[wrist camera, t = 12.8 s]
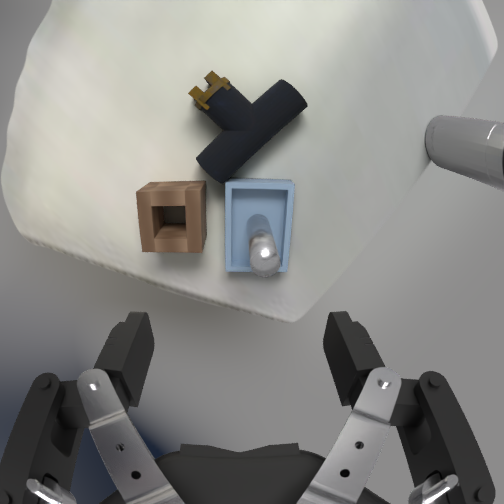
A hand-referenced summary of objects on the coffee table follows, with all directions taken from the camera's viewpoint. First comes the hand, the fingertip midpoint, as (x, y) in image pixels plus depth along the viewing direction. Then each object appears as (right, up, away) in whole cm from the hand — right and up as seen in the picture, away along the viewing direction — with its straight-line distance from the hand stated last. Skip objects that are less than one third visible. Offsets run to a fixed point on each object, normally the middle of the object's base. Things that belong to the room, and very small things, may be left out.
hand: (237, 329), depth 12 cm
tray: (+1, +8, +30) cm, 31 cm away
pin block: (-10, +10, +28) cm, 31 cm away
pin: (+1, +7, +29) cm, 30 cm away
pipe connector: (-2, +22, +23) cm, 32 cm away
